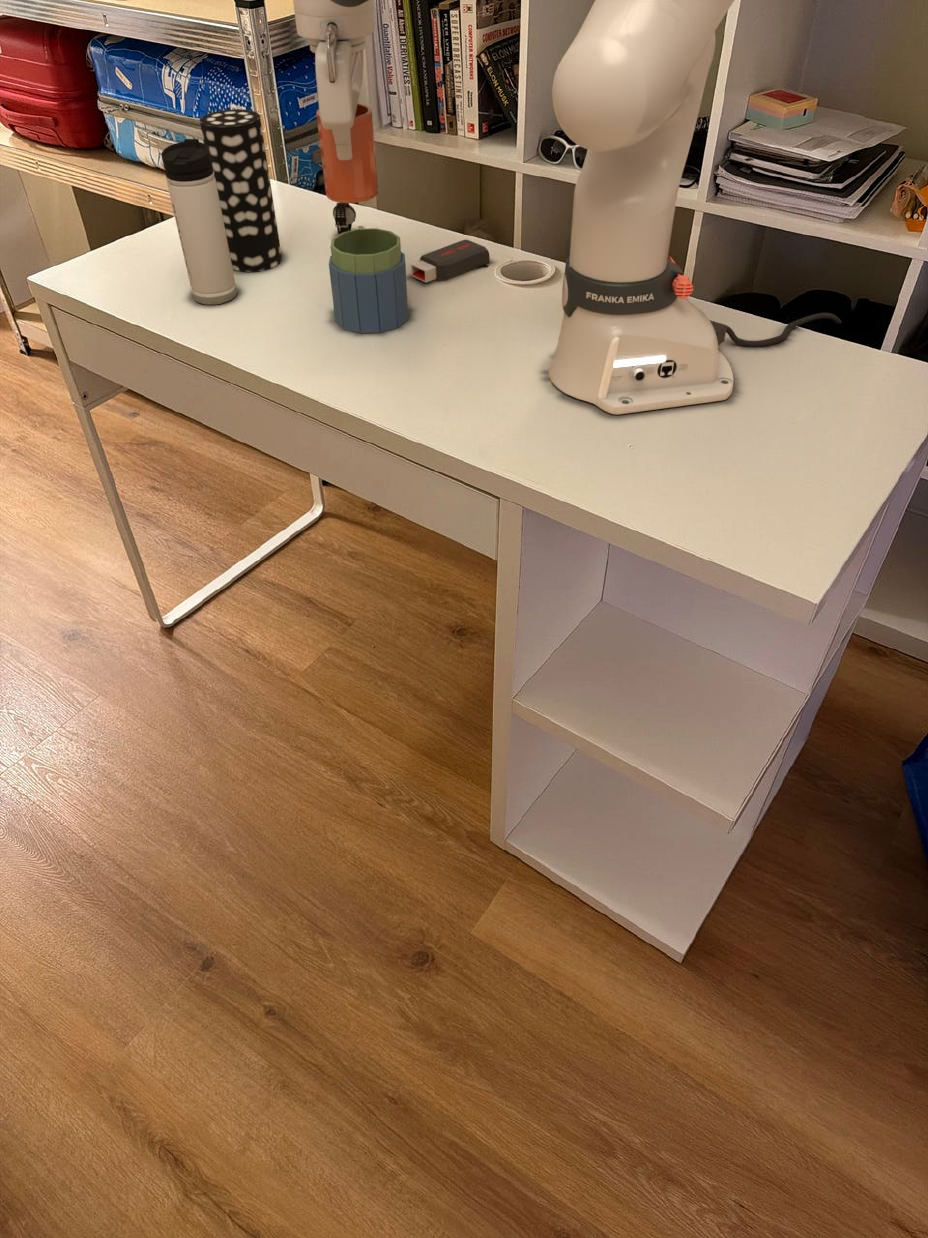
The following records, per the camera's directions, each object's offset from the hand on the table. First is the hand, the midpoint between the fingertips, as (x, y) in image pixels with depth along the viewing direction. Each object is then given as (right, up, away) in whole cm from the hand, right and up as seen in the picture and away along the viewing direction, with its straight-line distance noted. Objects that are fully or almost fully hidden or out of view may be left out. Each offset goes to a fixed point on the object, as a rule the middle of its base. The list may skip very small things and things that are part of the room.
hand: (347, 147), depth 111 cm
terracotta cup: (0, -4, +4) cm, 5 cm away
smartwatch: (-5, +4, +36) cm, 36 cm away
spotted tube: (-18, -3, +29) cm, 34 cm away
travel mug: (-22, -11, +20) cm, 32 cm away
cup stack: (+1, -16, +15) cm, 22 cm away
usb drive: (+12, -5, +26) cm, 29 cm away
